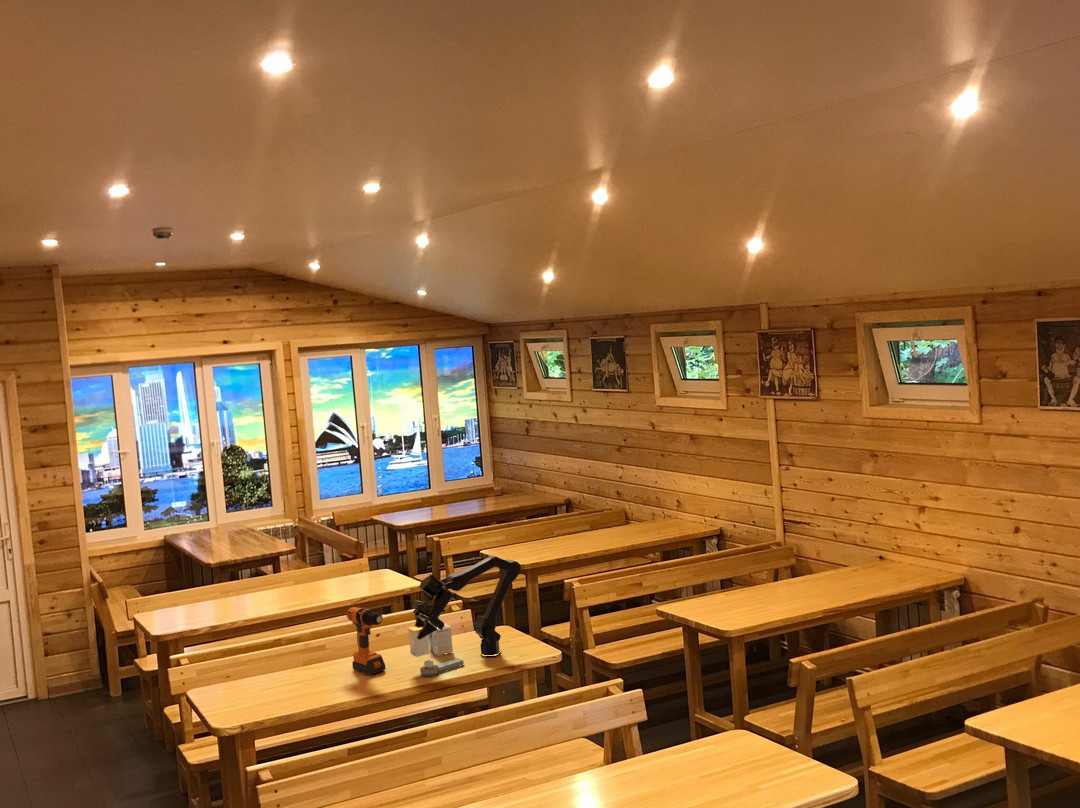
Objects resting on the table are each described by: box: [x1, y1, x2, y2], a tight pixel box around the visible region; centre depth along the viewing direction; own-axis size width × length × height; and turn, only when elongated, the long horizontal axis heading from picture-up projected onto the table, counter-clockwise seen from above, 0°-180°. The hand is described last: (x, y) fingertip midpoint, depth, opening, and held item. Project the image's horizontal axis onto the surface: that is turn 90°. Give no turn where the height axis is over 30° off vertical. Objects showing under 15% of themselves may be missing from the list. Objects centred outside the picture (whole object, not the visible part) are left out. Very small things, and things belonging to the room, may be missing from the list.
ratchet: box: [419, 658, 465, 678], centre depth 391 cm, size 18×7×5 cm, turn 130°
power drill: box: [346, 606, 386, 676], centre depth 397 cm, size 22×7×25 cm, turn 41°
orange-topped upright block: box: [407, 625, 431, 658], centre depth 392 cm, size 6×6×10 cm
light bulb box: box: [428, 622, 454, 656], centre depth 417 cm, size 11×7×11 cm, turn 25°
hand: (415, 637), depth 391 cm, fingers closed on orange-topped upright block, 6 cm apart
